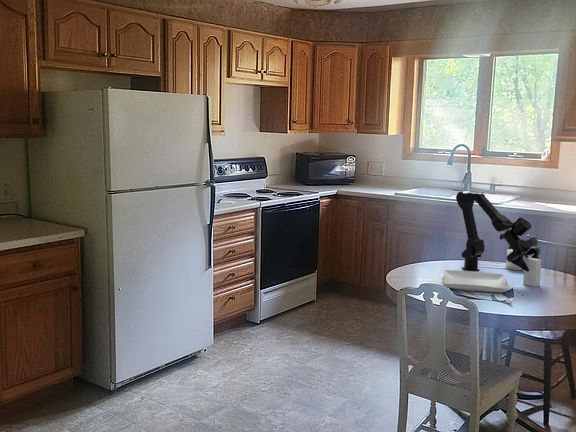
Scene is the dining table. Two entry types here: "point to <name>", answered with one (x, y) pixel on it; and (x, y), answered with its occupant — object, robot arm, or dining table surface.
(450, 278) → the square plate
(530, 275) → the skincare box
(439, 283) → the dining table surface
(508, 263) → the pale grey cylinder
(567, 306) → the dining table surface
